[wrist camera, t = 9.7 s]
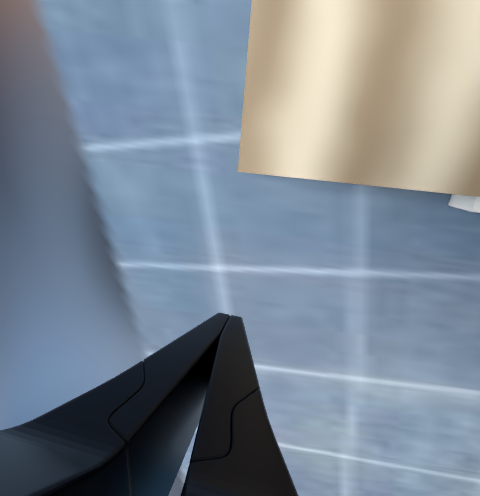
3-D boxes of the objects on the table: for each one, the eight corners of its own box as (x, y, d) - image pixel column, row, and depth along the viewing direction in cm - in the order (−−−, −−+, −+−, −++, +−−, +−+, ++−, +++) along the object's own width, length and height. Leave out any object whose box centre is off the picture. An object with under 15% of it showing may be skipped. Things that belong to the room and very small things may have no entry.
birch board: (557, -90, 13) (666, -195, 9) (453, 190, 17) (496, 198, 14) (271, -74, 15) (264, -152, 11) (248, 170, 20) (237, 171, 16)
